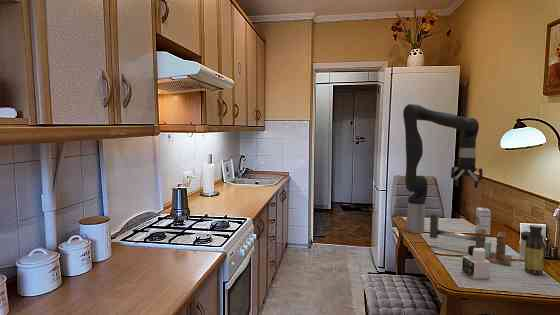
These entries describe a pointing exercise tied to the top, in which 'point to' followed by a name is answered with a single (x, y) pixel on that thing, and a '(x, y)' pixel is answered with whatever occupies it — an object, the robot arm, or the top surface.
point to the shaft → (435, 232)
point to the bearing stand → (500, 248)
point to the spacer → (487, 247)
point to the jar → (524, 244)
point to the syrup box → (483, 219)
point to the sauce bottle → (534, 251)
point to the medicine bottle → (476, 263)
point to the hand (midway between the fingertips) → (465, 187)
